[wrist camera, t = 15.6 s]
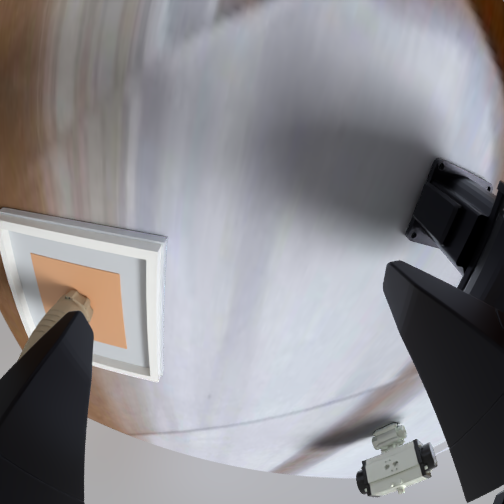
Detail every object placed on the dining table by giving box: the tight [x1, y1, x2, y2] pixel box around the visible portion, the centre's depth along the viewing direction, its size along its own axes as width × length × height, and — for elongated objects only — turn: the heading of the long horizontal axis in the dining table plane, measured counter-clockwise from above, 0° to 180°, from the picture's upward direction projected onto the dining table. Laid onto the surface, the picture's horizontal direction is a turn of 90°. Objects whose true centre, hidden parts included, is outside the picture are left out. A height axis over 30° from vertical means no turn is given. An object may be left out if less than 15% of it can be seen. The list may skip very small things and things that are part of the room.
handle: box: [18, 290, 93, 360], centre depth 17 cm, size 5×6×15 cm
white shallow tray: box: [0, 207, 167, 382], centre depth 24 cm, size 16×16×2 cm
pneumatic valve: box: [356, 423, 437, 497], centre depth 33 cm, size 6×12×12 cm, turn 129°
